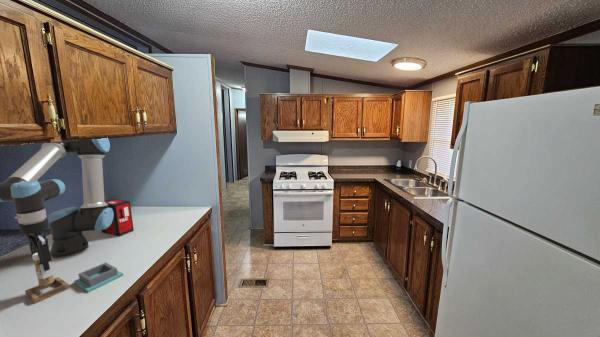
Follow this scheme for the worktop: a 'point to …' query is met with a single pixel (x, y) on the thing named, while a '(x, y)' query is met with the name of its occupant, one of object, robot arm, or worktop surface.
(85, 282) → the plate
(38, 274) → the sprinkles bottle
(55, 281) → the stand collar
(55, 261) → the worktop surface
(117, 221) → the cleaning product box
